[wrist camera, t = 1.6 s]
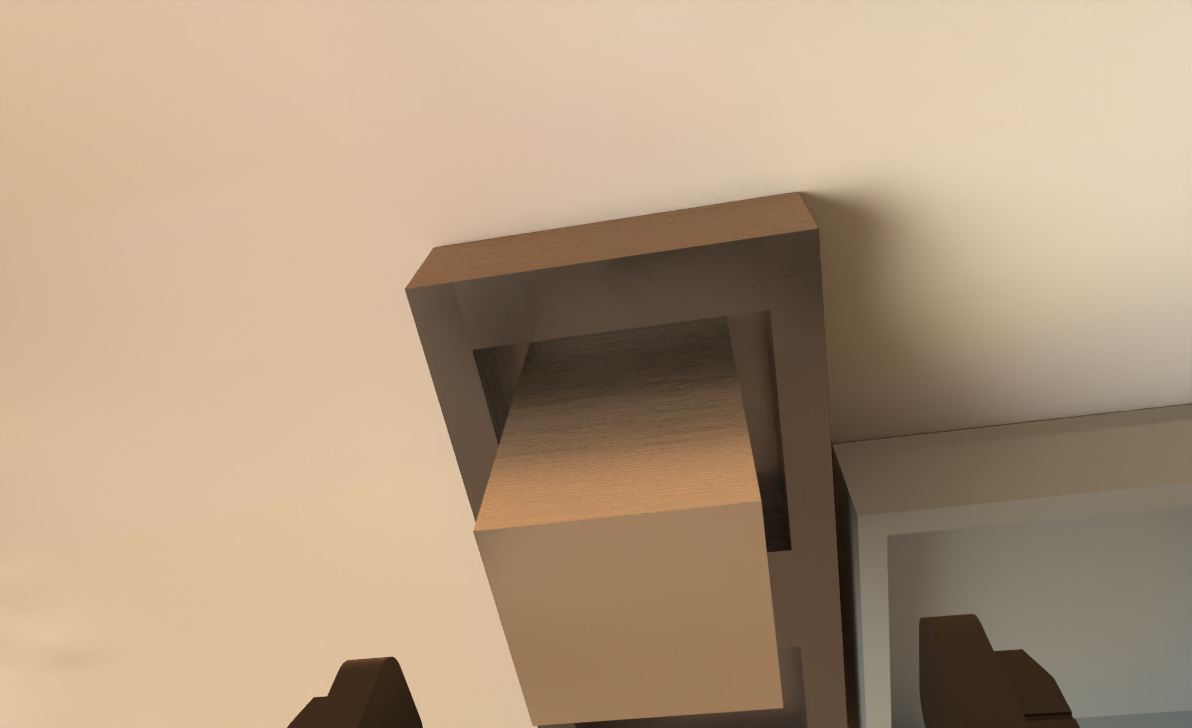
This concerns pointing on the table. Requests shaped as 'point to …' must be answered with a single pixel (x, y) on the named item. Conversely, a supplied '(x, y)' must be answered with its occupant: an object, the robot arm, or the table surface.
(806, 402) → the grey compartment tray
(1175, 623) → the tray
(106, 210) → the table surface
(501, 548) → the brown rectangular block
